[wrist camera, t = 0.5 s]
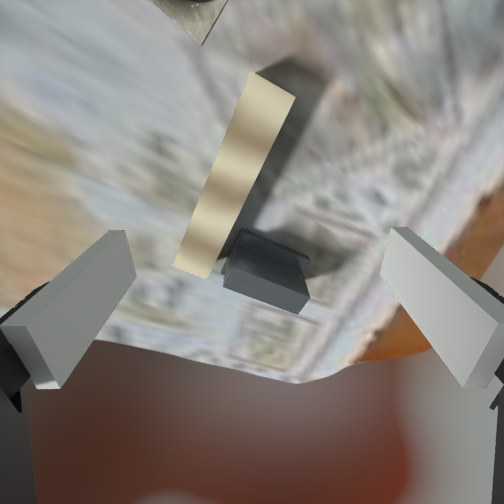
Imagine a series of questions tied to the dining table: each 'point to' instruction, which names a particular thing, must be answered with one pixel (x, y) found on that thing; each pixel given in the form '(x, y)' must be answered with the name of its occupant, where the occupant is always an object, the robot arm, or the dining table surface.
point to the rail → (267, 272)
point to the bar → (233, 173)
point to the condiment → (192, 15)
